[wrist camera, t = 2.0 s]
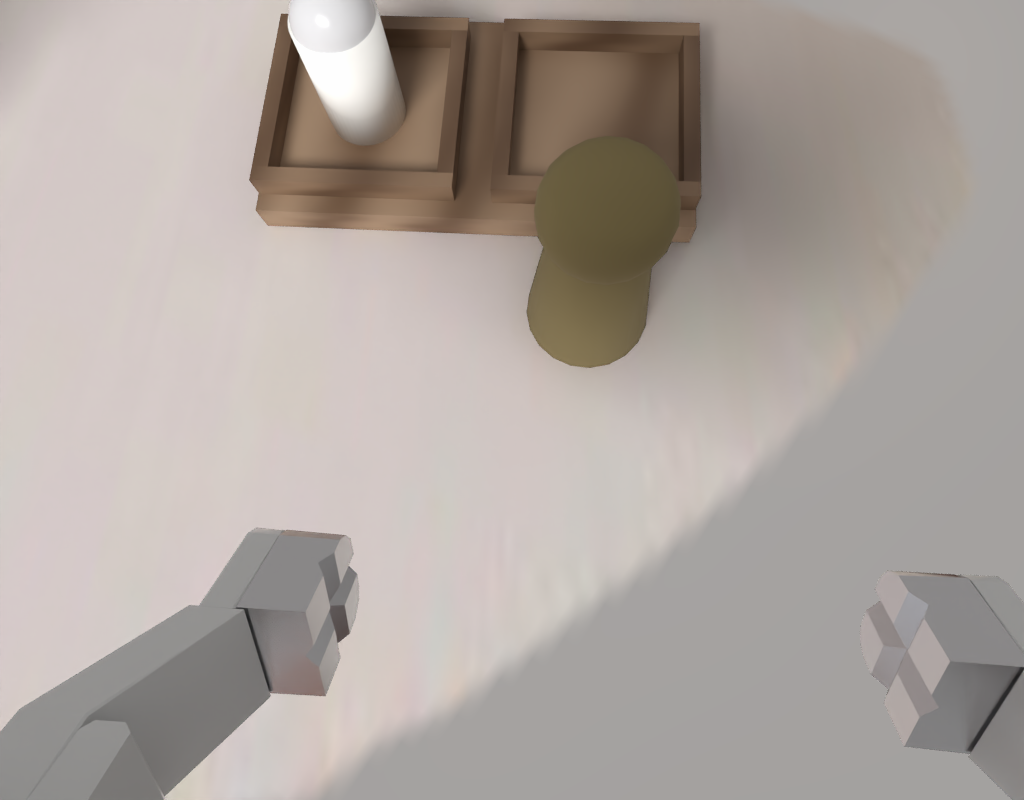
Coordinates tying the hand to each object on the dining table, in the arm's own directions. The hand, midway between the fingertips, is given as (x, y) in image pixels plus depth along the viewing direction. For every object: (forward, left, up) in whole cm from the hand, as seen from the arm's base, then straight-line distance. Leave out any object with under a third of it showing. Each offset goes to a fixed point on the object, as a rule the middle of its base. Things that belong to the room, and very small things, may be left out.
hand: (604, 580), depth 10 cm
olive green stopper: (+1, +13, -19) cm, 23 cm away
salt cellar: (-11, +23, -18) cm, 31 cm away
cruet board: (-5, +23, -19) cm, 30 cm away
